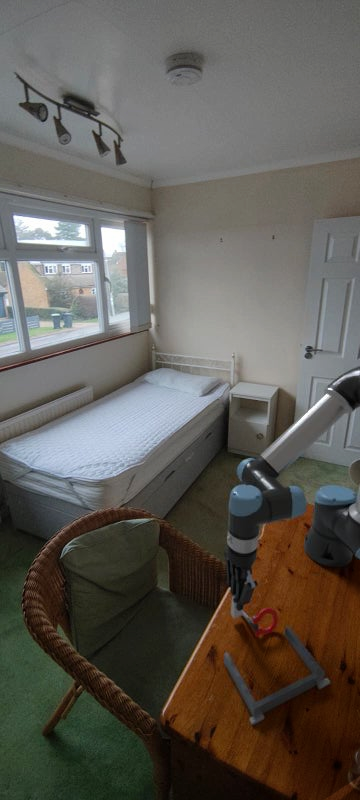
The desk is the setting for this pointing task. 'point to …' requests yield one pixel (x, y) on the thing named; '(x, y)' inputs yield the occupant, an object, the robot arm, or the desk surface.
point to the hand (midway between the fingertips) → (236, 614)
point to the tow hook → (256, 619)
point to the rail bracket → (285, 693)
